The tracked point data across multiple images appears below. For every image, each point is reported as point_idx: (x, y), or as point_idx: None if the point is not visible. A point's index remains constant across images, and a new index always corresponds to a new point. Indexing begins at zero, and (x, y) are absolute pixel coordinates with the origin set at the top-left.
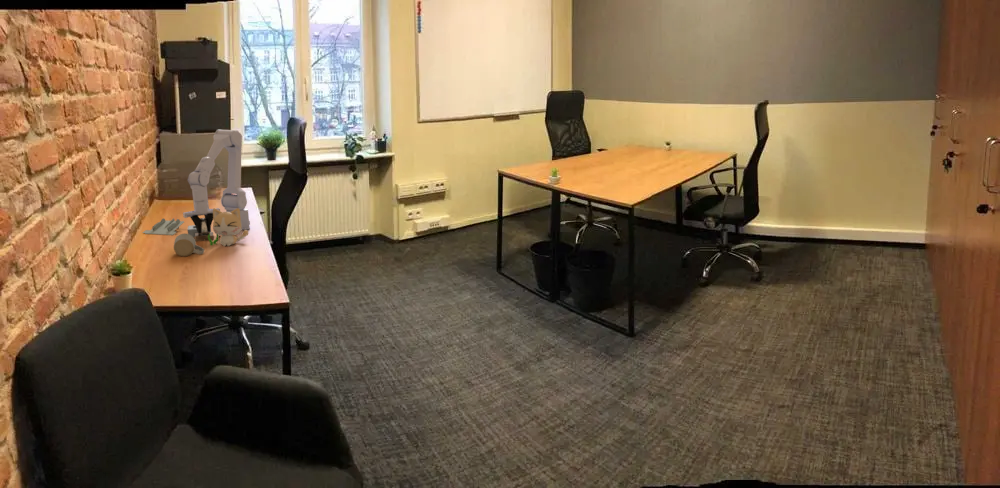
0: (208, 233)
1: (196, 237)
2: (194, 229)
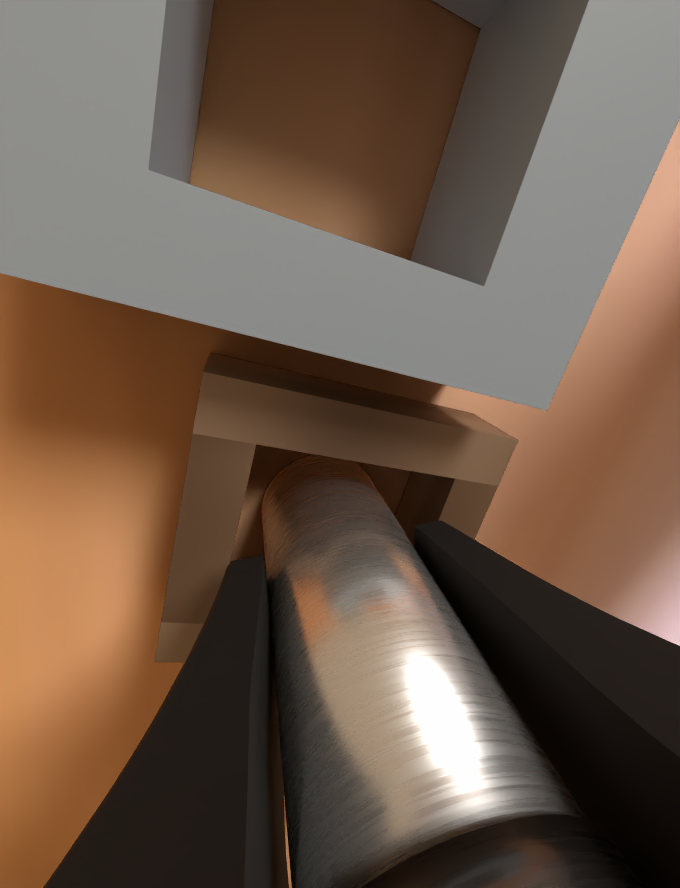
0: (424, 469)
1: (183, 649)
2: (186, 318)
